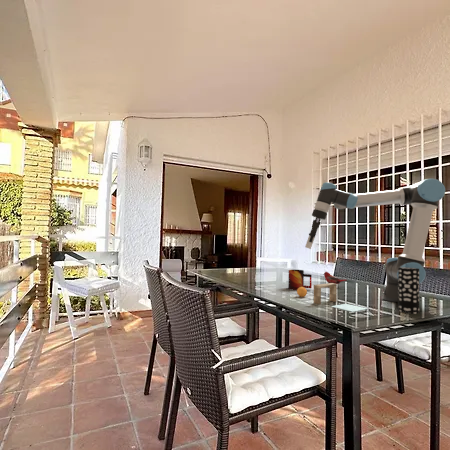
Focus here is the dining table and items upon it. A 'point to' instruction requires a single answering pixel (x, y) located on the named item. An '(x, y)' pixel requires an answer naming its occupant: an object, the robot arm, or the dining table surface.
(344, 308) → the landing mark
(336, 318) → the dining table surface
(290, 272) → the mug
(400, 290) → the white-spotted black cylinder
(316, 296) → the bridge
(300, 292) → the ball
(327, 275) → the decorative bird figurine
